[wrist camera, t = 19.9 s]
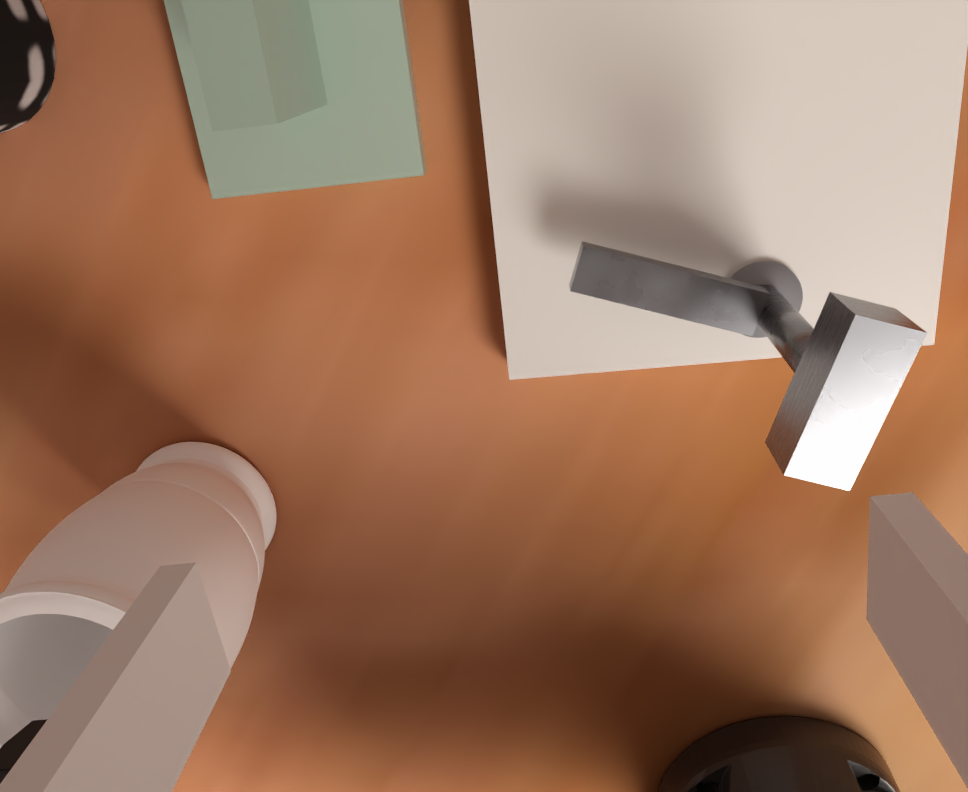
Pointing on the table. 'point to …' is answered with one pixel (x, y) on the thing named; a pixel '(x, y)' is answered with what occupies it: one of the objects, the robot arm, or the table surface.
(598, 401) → the table surface
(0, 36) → the white-spotted black cylinder
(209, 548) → the jar
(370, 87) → the cover
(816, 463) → the grey angled block piece
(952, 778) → the table surface
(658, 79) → the lock base
